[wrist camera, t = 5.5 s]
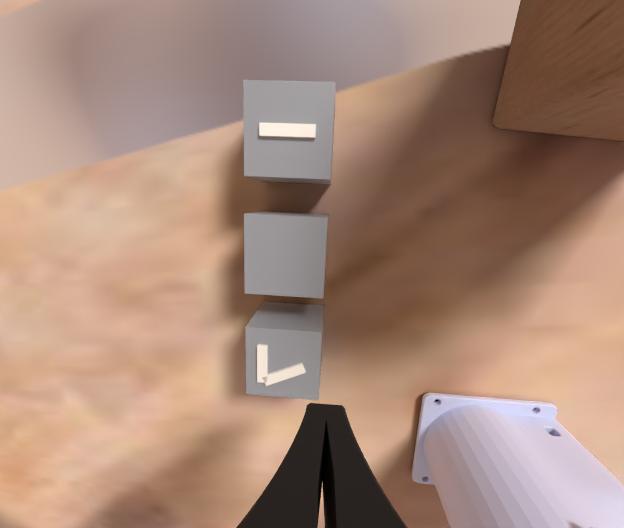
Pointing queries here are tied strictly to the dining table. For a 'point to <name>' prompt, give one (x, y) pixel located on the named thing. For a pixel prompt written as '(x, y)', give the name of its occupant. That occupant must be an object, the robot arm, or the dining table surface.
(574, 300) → the dining table surface
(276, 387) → the block marked 7
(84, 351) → the dining table surface
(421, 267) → the dining table surface
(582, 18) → the wooden block
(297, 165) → the block marked 1
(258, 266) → the plain block
